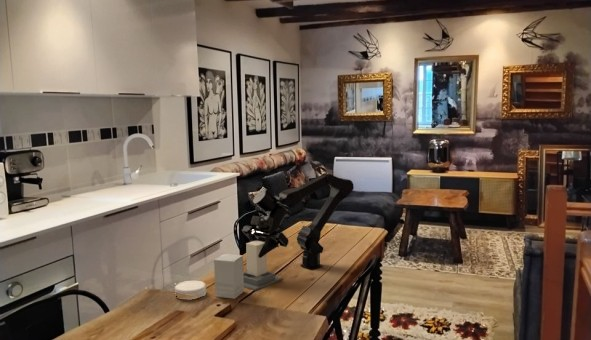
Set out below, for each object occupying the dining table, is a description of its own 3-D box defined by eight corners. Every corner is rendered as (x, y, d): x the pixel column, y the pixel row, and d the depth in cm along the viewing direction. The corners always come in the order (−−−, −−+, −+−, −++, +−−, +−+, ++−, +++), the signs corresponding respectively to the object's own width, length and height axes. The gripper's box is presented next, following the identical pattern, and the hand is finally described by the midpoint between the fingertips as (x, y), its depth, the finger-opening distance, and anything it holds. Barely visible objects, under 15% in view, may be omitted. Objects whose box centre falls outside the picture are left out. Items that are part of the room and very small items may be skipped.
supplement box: (244, 291, 159) (244, 255, 158) (234, 299, 152) (234, 261, 151) (224, 288, 162) (224, 253, 160) (214, 296, 155) (213, 259, 153)
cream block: (256, 269, 172) (255, 240, 171) (266, 272, 169) (266, 242, 168) (246, 273, 169) (246, 243, 167) (257, 276, 166) (256, 245, 164)
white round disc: (191, 303, 150) (190, 292, 149) (168, 297, 155) (168, 286, 155) (212, 293, 158) (212, 283, 158) (190, 287, 163) (190, 278, 163)
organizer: (257, 272, 178) (257, 265, 178) (281, 279, 171) (281, 272, 171) (230, 282, 168) (230, 275, 167) (255, 290, 160) (254, 283, 160)
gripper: (244, 203, 175) (223, 239, 168) (283, 210, 163) (261, 248, 156) (259, 220, 182) (239, 255, 175) (297, 228, 170) (277, 265, 163)
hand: (253, 255), depth 167 cm, fingers closed on cream block, 5 cm apart
